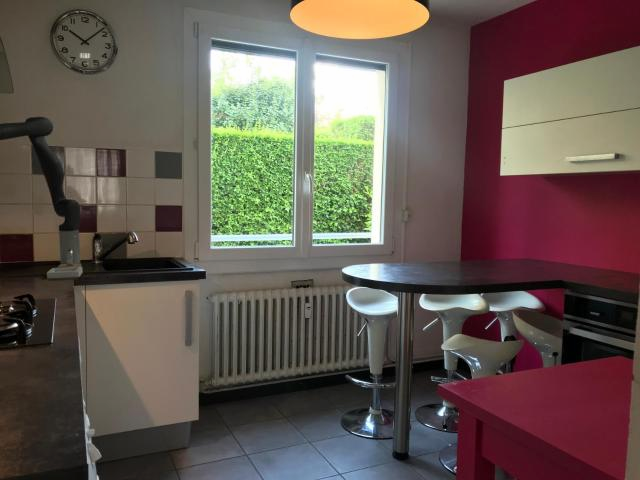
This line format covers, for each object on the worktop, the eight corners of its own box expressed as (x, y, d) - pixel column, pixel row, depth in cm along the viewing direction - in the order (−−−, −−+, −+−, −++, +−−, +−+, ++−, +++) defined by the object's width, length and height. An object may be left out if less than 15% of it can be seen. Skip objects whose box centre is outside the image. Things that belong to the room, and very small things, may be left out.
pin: (66, 270, 245) (67, 248, 243) (73, 270, 245) (73, 249, 244) (66, 271, 242) (66, 250, 241) (72, 271, 243) (72, 250, 242)
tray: (52, 275, 237) (52, 268, 236) (82, 274, 240) (82, 267, 240) (47, 280, 225) (46, 272, 224) (78, 279, 229) (78, 271, 228)
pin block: (60, 271, 247) (60, 264, 246) (81, 271, 250) (81, 263, 249) (57, 275, 238) (56, 267, 238) (78, 274, 241) (78, 266, 241)
